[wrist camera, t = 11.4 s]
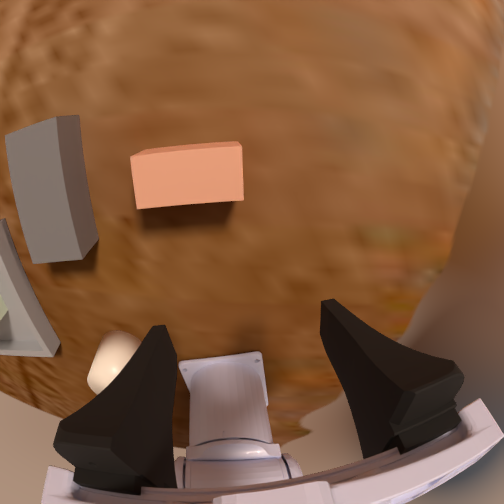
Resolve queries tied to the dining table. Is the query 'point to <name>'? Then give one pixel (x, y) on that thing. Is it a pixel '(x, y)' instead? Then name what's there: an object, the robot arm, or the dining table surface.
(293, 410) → the dining table surface
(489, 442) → the robot arm
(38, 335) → the grey tray
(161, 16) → the dining table surface
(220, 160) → the terracotta slim brick
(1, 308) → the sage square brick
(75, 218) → the grey rectangular block
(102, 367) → the cream round brick
